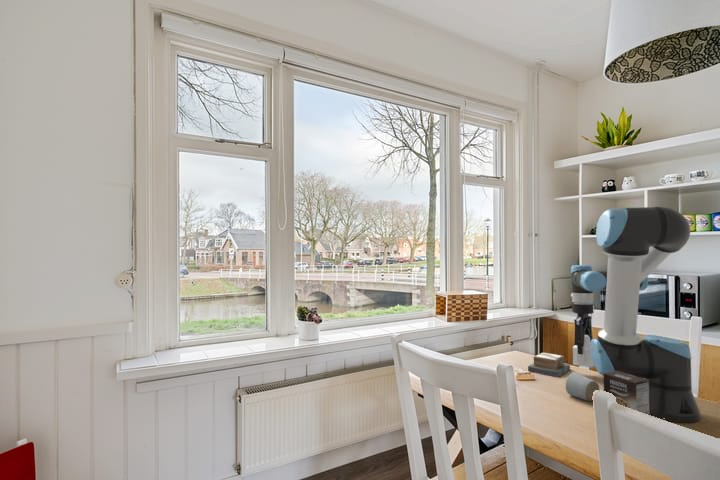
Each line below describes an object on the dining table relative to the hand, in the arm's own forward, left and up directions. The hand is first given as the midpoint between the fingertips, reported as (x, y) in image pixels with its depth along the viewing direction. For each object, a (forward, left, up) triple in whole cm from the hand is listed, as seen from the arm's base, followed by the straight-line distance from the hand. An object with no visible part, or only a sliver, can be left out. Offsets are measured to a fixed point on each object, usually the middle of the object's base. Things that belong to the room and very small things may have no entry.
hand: (584, 360), depth 162 cm
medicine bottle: (0, 0, -2) cm, 2 cm away
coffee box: (-47, -24, -7) cm, 53 cm away
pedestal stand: (-2, +13, -6) cm, 15 cm away
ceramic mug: (-25, -7, -7) cm, 27 cm away
